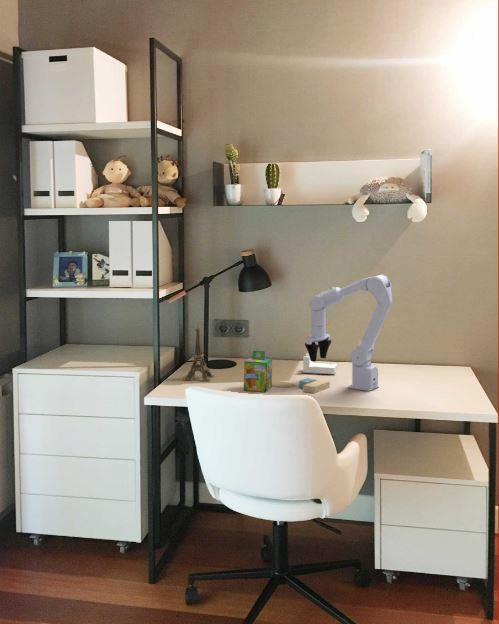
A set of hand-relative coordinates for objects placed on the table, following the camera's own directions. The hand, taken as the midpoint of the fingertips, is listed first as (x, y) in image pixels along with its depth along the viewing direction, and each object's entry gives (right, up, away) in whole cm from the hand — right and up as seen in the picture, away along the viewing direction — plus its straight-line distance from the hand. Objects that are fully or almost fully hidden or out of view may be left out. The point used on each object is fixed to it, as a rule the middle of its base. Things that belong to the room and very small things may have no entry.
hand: (318, 359), depth 303 cm
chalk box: (-24, -11, -7) cm, 27 cm away
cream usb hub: (-1, -11, -9) cm, 14 cm away
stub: (-5, -10, -5) cm, 12 cm away
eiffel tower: (-48, -9, +10) cm, 49 cm away
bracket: (+2, -7, +19) cm, 20 cm away
